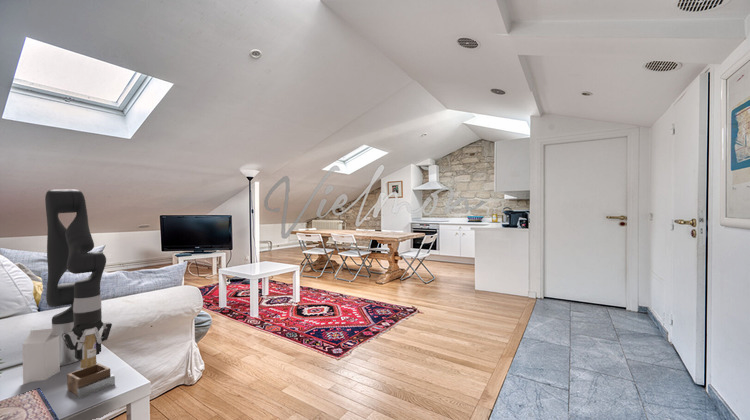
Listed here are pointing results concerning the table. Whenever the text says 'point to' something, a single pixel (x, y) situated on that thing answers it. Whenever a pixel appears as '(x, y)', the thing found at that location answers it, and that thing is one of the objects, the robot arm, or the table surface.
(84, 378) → the block
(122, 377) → the table surface
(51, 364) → the milk carton
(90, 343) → the sprinkles bottle
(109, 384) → the rail
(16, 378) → the table surface
